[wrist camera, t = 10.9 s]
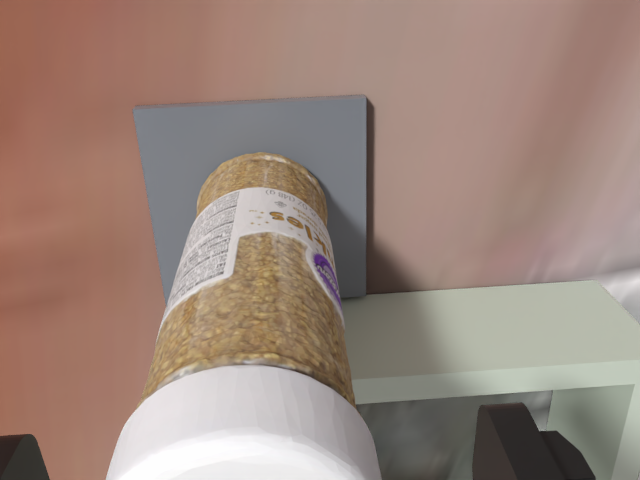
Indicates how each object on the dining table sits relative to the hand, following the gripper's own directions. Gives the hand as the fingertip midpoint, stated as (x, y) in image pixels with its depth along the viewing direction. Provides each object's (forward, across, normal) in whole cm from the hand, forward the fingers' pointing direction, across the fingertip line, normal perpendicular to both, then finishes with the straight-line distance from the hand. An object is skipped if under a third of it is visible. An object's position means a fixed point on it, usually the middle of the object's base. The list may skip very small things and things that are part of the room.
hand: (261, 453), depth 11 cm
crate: (+12, -6, +10) cm, 17 cm away
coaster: (+12, 0, 0) cm, 12 cm away
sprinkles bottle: (+11, 0, 0) cm, 11 cm away
